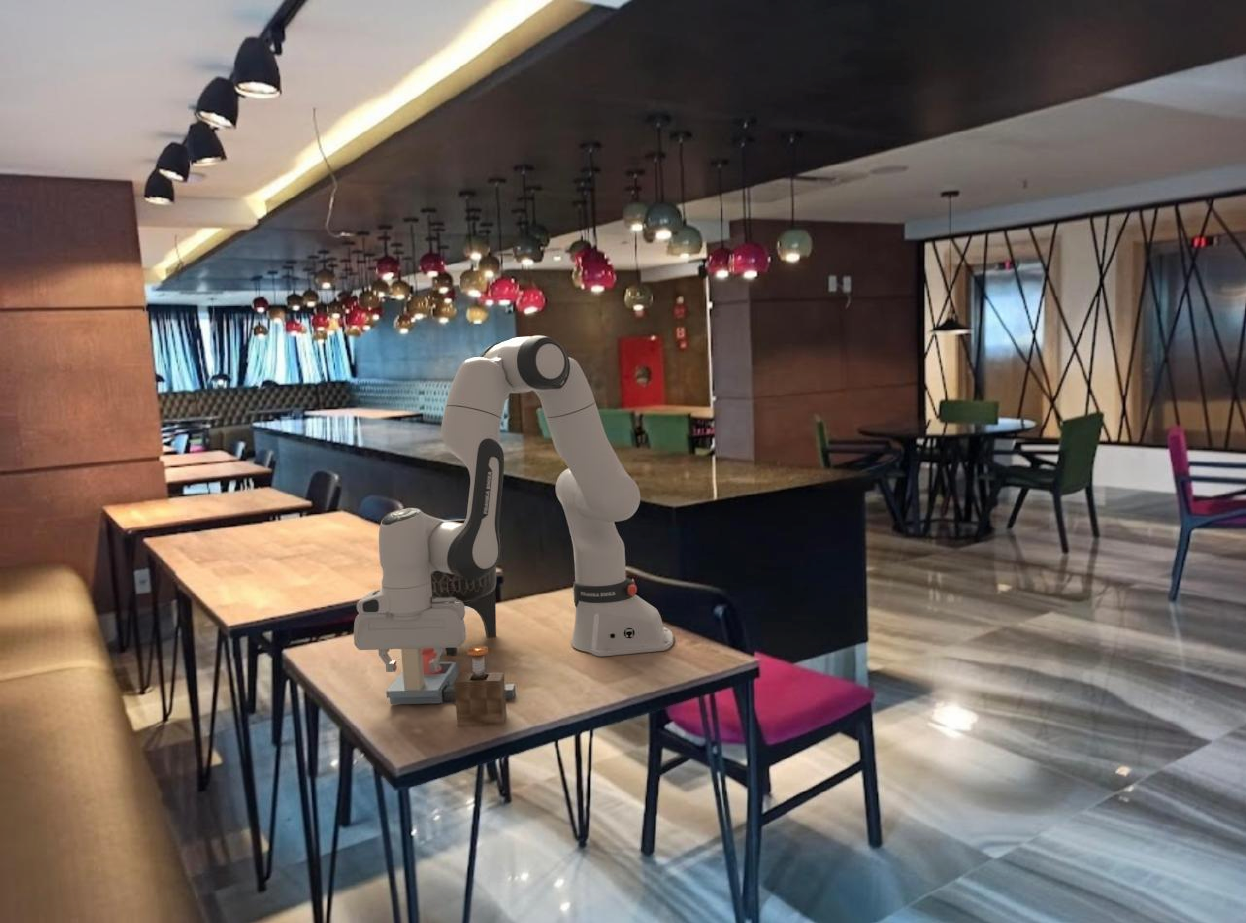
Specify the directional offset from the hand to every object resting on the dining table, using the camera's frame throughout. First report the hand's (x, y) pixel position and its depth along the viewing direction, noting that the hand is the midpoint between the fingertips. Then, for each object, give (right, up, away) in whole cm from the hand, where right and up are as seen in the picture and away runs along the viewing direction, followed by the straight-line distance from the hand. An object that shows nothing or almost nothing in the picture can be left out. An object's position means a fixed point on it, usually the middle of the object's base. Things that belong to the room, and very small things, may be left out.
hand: (413, 670), depth 167 cm
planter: (+2, -2, +36) cm, 36 cm away
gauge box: (+14, -7, -8) cm, 17 cm away
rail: (+7, -6, +3) cm, 10 cm away
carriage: (+1, -6, +7) cm, 9 cm away
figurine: (+1, -6, +10) cm, 12 cm away
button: (+14, -1, -8) cm, 16 cm away
